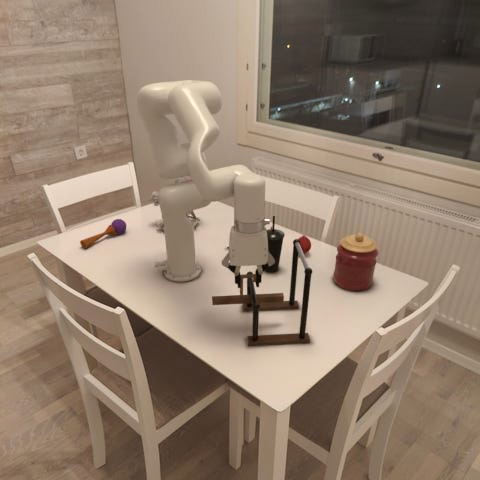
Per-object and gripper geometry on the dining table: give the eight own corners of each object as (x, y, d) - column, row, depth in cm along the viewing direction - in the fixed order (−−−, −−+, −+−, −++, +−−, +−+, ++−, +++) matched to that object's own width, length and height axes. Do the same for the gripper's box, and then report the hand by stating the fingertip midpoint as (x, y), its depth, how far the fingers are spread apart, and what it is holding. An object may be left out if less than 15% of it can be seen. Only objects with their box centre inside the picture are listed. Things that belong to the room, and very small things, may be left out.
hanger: (212, 305, 123) (211, 278, 119) (212, 302, 125) (210, 275, 120) (283, 301, 125) (285, 274, 120) (282, 298, 126) (284, 271, 121)
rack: (248, 346, 121) (249, 273, 108) (242, 305, 137) (242, 238, 124) (309, 342, 122) (318, 270, 110) (296, 303, 138) (302, 236, 126)
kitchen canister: (347, 267, 157) (354, 221, 147) (379, 281, 149) (389, 233, 139) (325, 281, 149) (330, 233, 140) (358, 296, 141) (366, 247, 132)
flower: (165, 208, 197) (146, 165, 176) (214, 206, 194) (201, 162, 173) (157, 244, 187) (136, 203, 166) (209, 242, 183) (194, 201, 162)
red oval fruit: (293, 250, 167) (294, 231, 163) (308, 250, 168) (310, 230, 163) (296, 258, 162) (297, 238, 158) (311, 257, 163) (313, 238, 158)
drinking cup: (280, 275, 152) (284, 222, 141) (258, 273, 153) (260, 220, 142) (283, 264, 158) (286, 212, 147) (262, 262, 159) (264, 210, 149)
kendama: (75, 236, 168) (117, 216, 180) (81, 250, 171) (122, 229, 183) (84, 238, 164) (126, 217, 176) (90, 252, 167) (131, 231, 179)
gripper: (279, 216, 115) (276, 276, 125) (214, 218, 114) (216, 279, 124) (284, 229, 109) (280, 291, 119) (216, 231, 108) (217, 294, 118)
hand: (247, 284), depth 122 cm, fingers closed on hanger, 4 cm apart
